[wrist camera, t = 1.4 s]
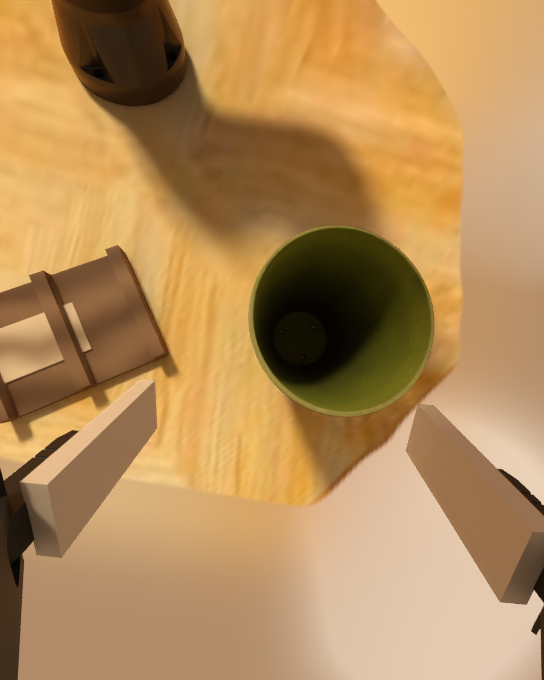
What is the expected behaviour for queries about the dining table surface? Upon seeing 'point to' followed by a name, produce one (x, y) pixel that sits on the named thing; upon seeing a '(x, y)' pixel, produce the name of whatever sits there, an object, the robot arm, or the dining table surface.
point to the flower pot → (341, 321)
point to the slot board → (72, 333)
